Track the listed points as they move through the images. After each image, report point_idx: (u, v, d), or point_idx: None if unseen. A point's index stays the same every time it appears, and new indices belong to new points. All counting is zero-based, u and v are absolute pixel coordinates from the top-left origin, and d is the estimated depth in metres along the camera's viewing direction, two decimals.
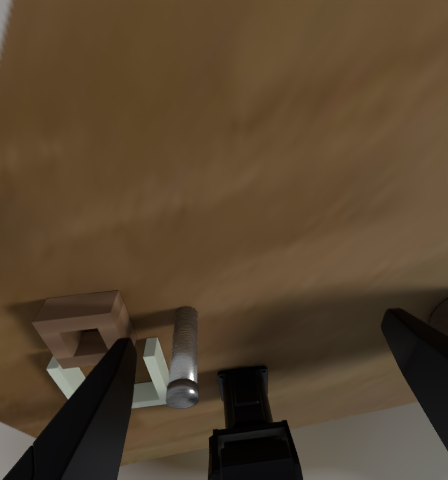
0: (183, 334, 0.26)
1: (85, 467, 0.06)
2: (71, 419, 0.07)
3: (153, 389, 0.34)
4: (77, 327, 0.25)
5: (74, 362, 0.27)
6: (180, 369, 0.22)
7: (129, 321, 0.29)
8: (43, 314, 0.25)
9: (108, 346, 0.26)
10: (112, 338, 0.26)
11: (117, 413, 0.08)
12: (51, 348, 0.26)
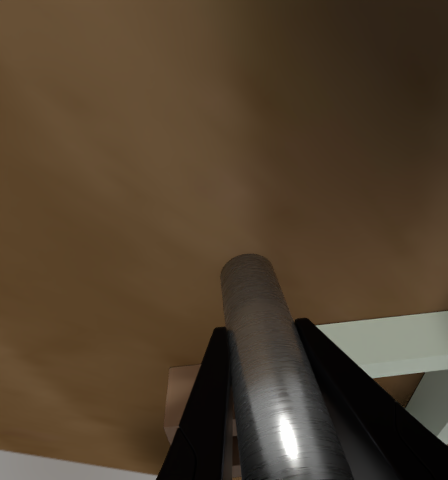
0: None
1: (227, 450, 0.06)
2: (203, 404, 0.07)
3: None
4: None
5: None
6: None
7: None
8: None
9: None
10: None
11: (230, 400, 0.08)
12: None
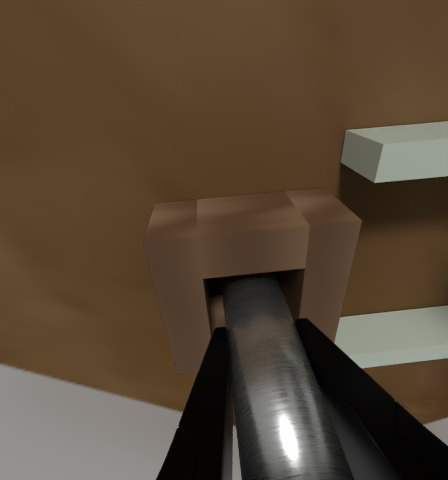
0: None
1: (227, 449, 0.06)
2: (203, 403, 0.07)
3: None
4: (196, 314, 0.10)
5: None
6: None
7: (257, 196, 0.11)
8: None
9: (280, 266, 0.09)
10: (249, 253, 0.09)
11: (230, 400, 0.08)
12: None
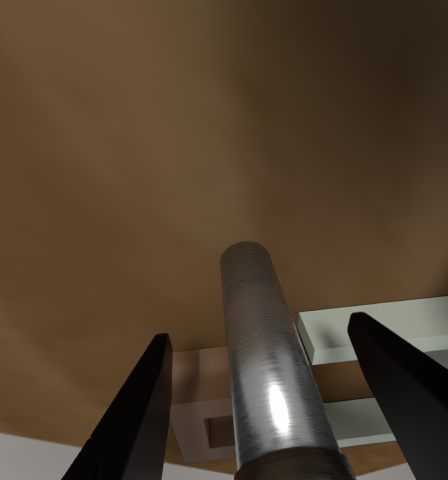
0: (225, 323, 0.10)
1: (141, 460, 0.06)
2: (123, 413, 0.07)
3: None
4: (198, 434, 0.15)
5: None
6: None
7: None
8: None
9: None
10: None
11: (161, 408, 0.08)
12: None
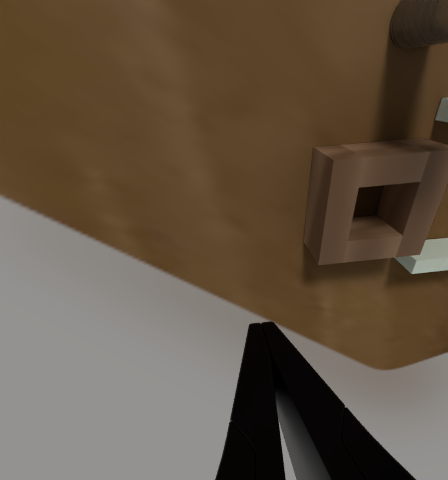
0: (446, 4, 0.11)
1: None
2: (251, 397, 0.07)
3: None
4: (346, 214, 0.16)
5: (415, 237, 0.17)
6: None
7: (380, 142, 0.17)
8: (314, 250, 0.18)
9: (406, 180, 0.15)
10: (391, 169, 0.15)
11: None
12: (373, 257, 0.18)
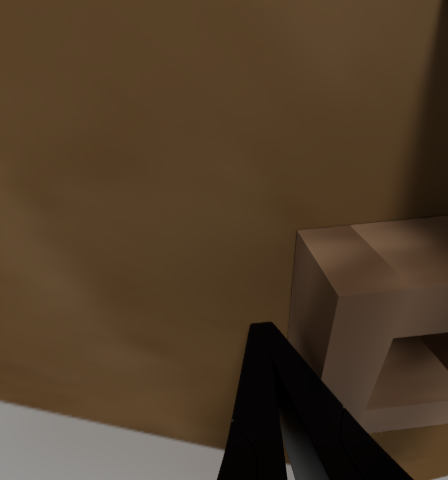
0: None
1: None
2: (252, 397, 0.07)
3: None
4: (363, 378, 0.08)
5: None
6: None
7: (429, 221, 0.08)
8: None
9: None
10: None
11: None
12: (410, 425, 0.10)
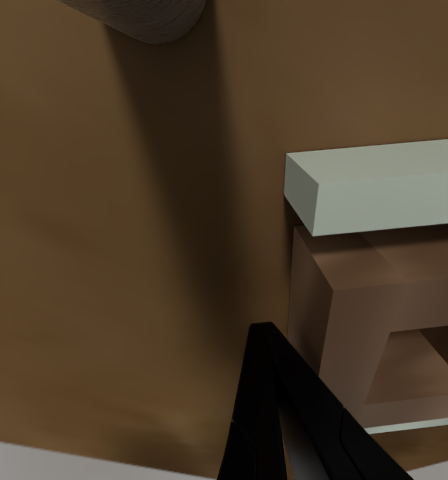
0: None
1: None
2: (252, 397, 0.07)
3: None
4: (361, 372, 0.08)
5: None
6: None
7: None
8: None
9: None
10: None
11: None
12: (410, 419, 0.10)
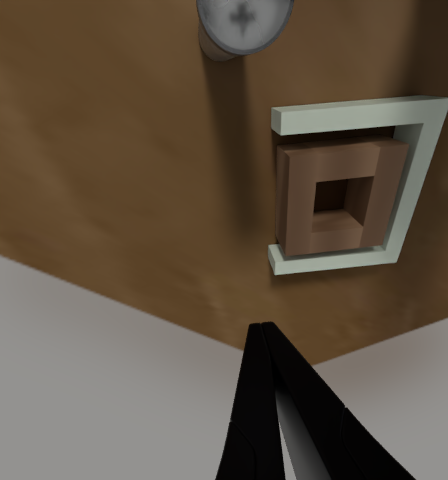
0: None
1: None
2: (251, 398, 0.07)
3: (404, 135, 0.17)
4: (307, 208, 0.17)
5: (375, 228, 0.18)
6: None
7: (339, 139, 0.18)
8: (282, 242, 0.19)
9: (360, 174, 0.16)
10: (345, 164, 0.16)
11: None
12: (337, 248, 0.19)
